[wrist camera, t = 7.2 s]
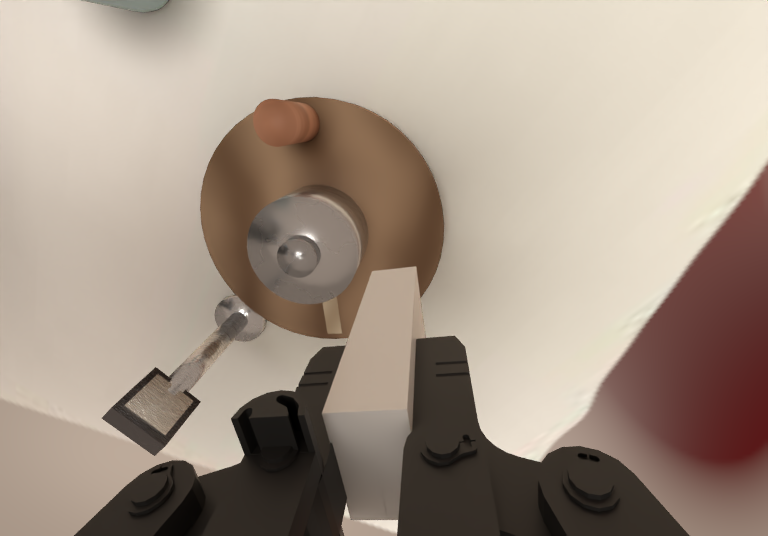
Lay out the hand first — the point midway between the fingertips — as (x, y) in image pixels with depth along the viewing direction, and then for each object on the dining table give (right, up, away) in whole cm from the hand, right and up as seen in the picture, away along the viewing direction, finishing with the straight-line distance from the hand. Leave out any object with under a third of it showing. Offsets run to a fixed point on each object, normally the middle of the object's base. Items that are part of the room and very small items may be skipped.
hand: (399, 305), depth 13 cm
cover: (-5, +4, +14) cm, 16 cm away
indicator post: (-13, -3, +20) cm, 25 cm away
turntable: (-5, +5, +16) cm, 18 cm away
